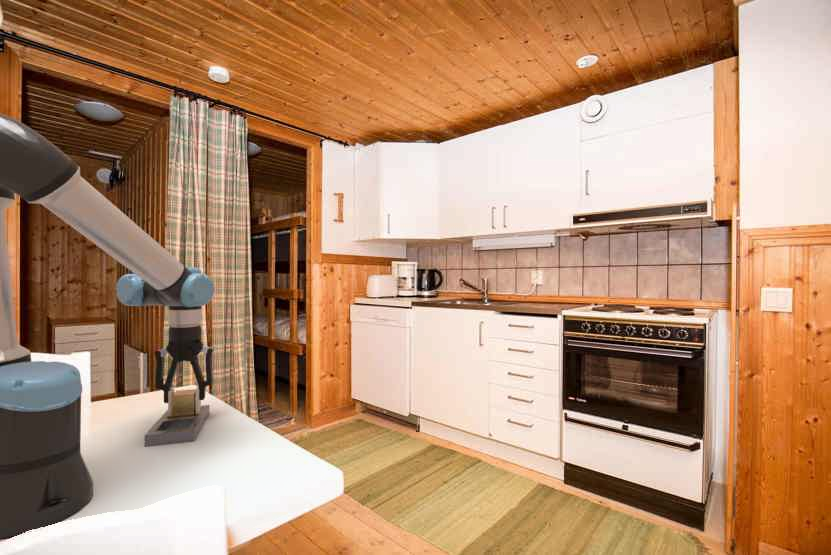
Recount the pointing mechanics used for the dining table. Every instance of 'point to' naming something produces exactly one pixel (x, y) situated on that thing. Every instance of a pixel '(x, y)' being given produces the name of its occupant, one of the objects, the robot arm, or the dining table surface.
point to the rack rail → (176, 428)
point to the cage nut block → (184, 403)
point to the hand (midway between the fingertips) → (184, 413)
